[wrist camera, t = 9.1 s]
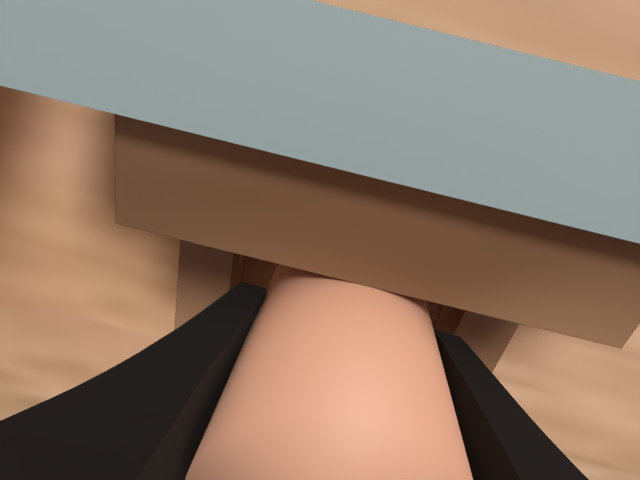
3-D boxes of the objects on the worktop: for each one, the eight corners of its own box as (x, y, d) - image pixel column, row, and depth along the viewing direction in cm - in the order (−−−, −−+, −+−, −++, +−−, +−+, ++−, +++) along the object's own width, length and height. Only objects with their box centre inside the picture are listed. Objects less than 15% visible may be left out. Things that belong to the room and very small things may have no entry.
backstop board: (644, 195, 10) (869, 299, 6) (131, 69, 10) (-54, 72, 6) (691, 119, 9) (1000, 170, 5) (132, -19, 9) (-85, -98, 5)
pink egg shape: (355, 369, 12) (348, 632, 6) (247, 295, 11) (134, 520, 6) (452, 283, 10) (554, 533, 5) (333, 191, 9) (294, 361, 4)
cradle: (456, 382, 13) (496, 520, 9) (192, 316, 13) (117, 426, 9) (559, 178, 10) (689, 254, 6) (213, 93, 10) (114, 112, 6)
